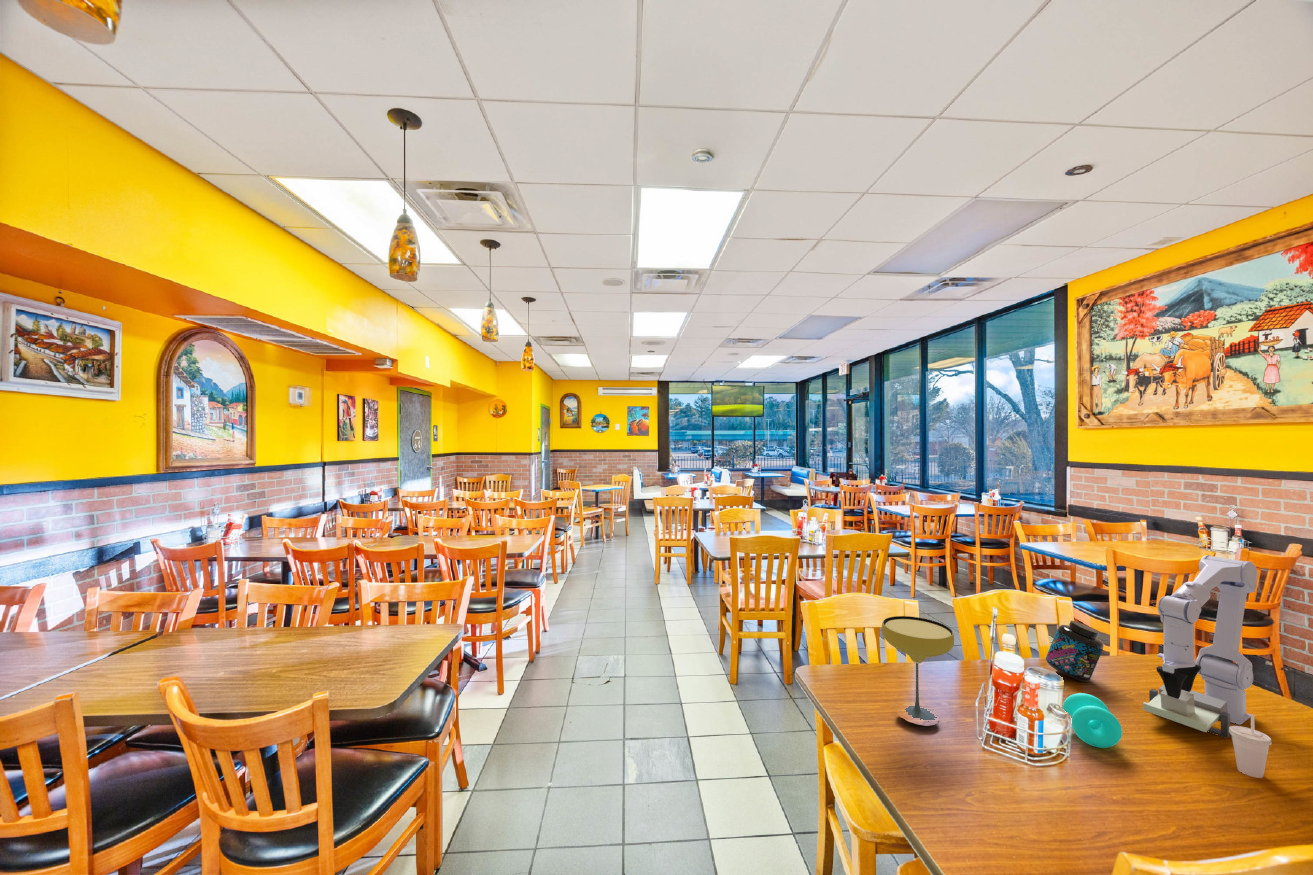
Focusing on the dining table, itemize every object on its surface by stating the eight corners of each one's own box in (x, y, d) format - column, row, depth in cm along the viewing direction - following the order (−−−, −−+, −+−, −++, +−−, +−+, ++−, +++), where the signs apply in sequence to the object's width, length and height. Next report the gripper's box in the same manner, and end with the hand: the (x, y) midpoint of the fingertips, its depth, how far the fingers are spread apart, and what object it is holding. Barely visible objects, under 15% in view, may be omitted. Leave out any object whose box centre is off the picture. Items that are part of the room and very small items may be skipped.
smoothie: (1281, 786, 112) (1280, 723, 112) (1246, 782, 114) (1245, 720, 114) (1253, 767, 119) (1253, 708, 119) (1221, 764, 120) (1220, 705, 120)
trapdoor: (1166, 694, 145) (1166, 682, 145) (1227, 714, 135) (1227, 701, 135) (1143, 714, 138) (1142, 702, 138) (1206, 737, 127) (1205, 724, 127)
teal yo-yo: (1108, 733, 133) (1108, 695, 133) (1124, 754, 124) (1124, 714, 124) (1061, 724, 137) (1061, 687, 137) (1073, 744, 128) (1073, 705, 128)
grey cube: (1169, 703, 138) (1168, 686, 138) (1195, 712, 134) (1193, 694, 133) (1161, 710, 136) (1160, 692, 136) (1187, 719, 131) (1186, 701, 131)
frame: (1152, 709, 145) (1152, 688, 145) (1230, 736, 131) (1230, 713, 131) (1149, 711, 143) (1149, 690, 144) (1227, 739, 130) (1227, 716, 130)
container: (1084, 674, 168) (1104, 629, 165) (1091, 689, 157) (1113, 642, 155) (1041, 655, 174) (1060, 612, 171) (1046, 668, 163) (1065, 623, 161)
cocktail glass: (883, 725, 136) (883, 633, 136) (880, 694, 153) (880, 612, 153) (960, 740, 129) (959, 643, 130) (948, 706, 146) (948, 620, 146)
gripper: (1169, 632, 142) (1169, 681, 142) (1147, 642, 135) (1147, 693, 135) (1205, 641, 135) (1205, 692, 135) (1183, 652, 129) (1184, 705, 129)
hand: (1179, 693), depth 135 cm, fingers open, 7 cm apart
